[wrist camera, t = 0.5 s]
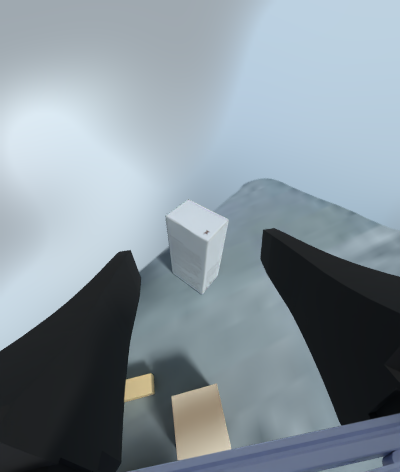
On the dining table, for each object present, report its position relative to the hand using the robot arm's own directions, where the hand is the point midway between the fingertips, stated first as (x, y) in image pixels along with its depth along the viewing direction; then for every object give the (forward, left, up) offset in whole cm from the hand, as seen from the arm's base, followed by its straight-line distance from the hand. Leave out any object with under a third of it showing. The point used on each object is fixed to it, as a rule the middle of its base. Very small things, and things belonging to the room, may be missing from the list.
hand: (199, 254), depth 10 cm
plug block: (-7, +1, -18) cm, 19 cm away
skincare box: (+9, -2, -18) cm, 20 cm away
